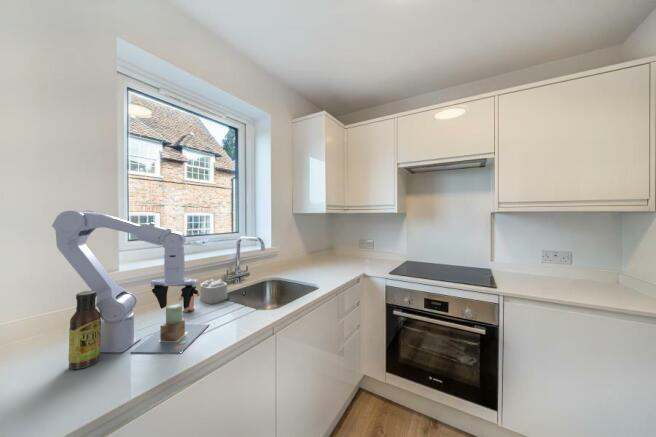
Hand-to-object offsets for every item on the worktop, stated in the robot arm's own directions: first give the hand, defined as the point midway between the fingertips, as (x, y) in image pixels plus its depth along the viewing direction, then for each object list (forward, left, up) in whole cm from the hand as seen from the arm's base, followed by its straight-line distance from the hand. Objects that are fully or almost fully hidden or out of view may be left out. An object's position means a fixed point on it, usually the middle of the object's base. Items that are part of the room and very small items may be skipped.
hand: (175, 307), depth 82 cm
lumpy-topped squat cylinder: (-4, +37, -11) cm, 39 cm away
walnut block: (0, -1, -10) cm, 10 cm away
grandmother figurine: (-7, +23, -11) cm, 26 cm away
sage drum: (0, 0, -5) cm, 5 cm away
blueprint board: (0, 0, -10) cm, 10 cm away
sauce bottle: (-16, -14, -11) cm, 24 cm away
